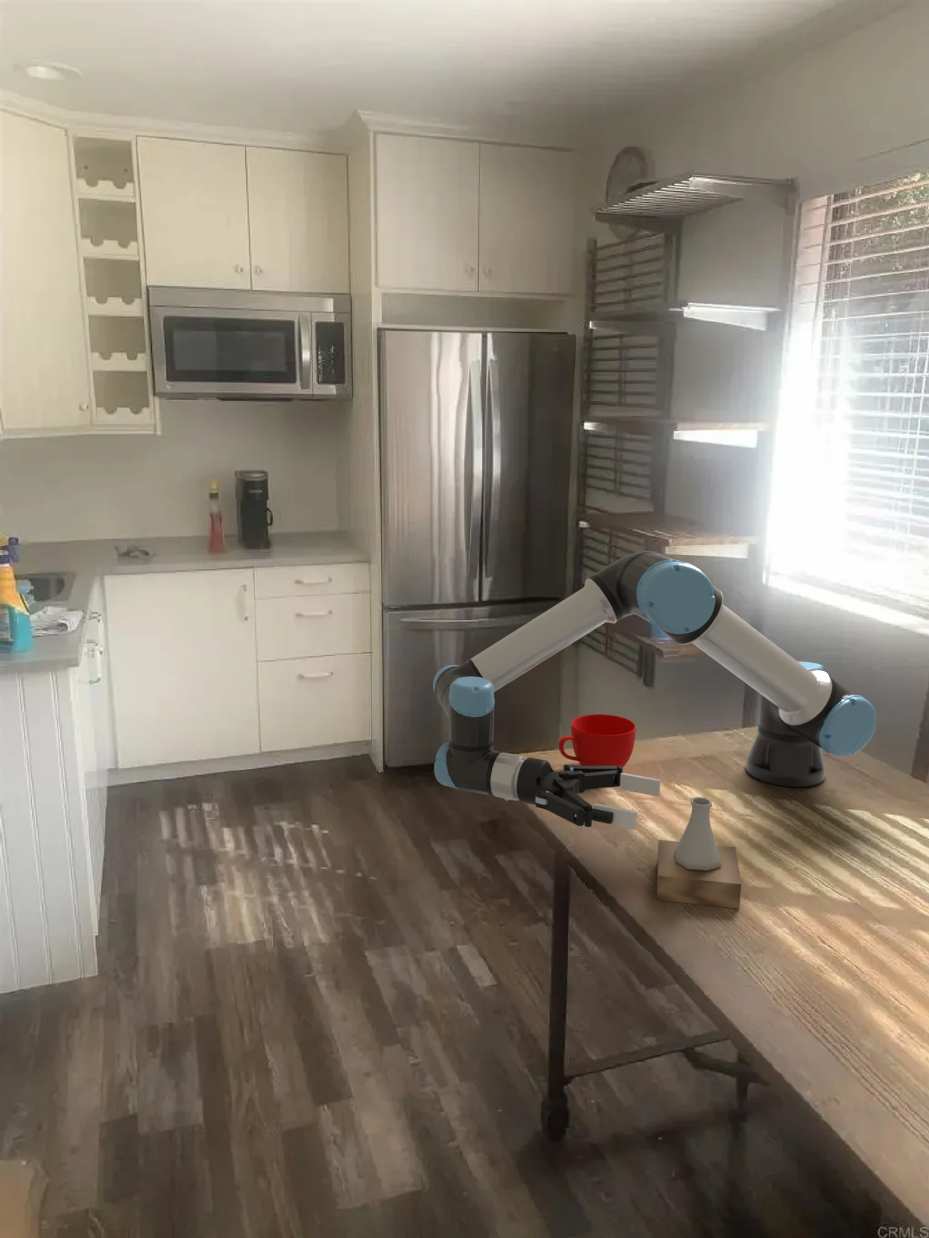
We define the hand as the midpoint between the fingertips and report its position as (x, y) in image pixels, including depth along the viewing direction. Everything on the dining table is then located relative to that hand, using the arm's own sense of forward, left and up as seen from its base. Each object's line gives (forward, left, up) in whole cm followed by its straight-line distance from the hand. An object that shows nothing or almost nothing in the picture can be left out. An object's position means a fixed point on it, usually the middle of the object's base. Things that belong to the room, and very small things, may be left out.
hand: (648, 803), depth 144 cm
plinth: (-8, +2, -12) cm, 14 cm away
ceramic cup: (+11, -40, -12) cm, 43 cm away
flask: (-8, +2, -8) cm, 11 cm away
